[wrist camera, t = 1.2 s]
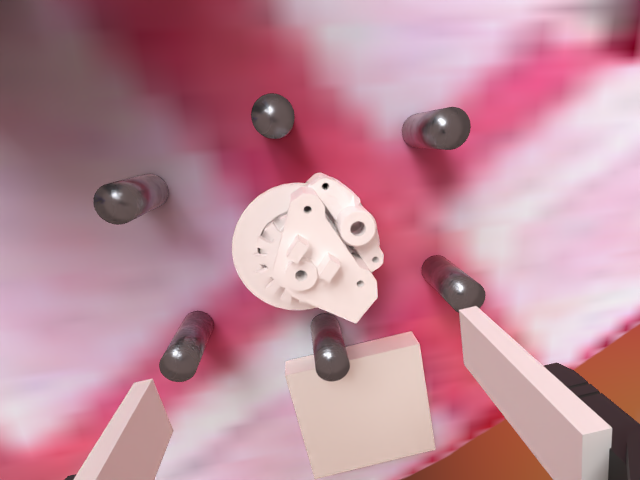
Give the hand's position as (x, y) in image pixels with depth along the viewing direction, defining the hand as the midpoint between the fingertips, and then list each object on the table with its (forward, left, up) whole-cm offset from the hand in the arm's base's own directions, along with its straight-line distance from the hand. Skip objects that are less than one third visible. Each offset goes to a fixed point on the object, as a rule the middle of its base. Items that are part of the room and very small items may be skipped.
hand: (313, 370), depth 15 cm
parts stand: (+20, +2, -21) cm, 29 cm away
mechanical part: (-1, 0, -21) cm, 21 cm away
